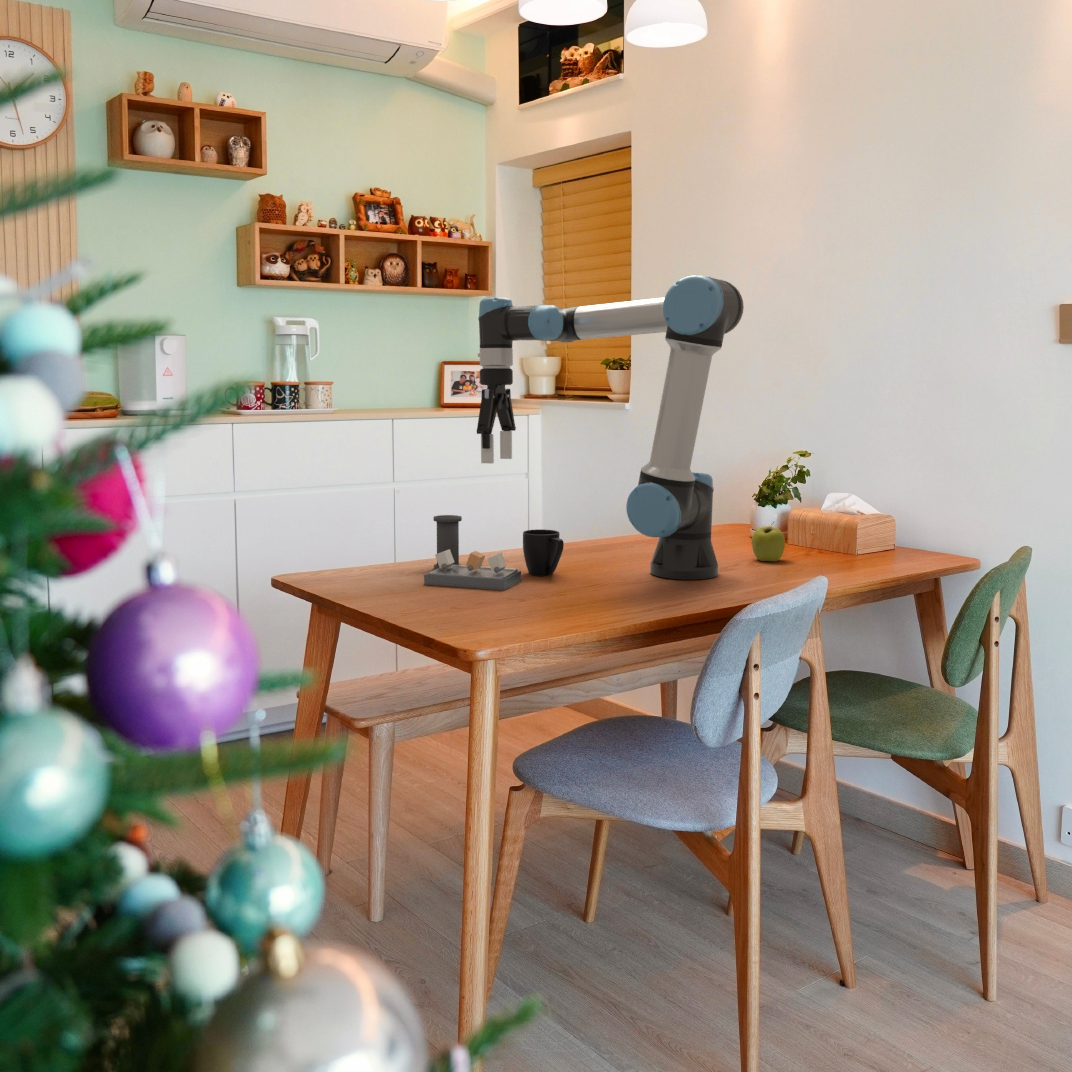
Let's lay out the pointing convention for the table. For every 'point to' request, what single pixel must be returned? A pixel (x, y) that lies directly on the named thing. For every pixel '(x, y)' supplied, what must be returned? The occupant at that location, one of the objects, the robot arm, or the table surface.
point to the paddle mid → (475, 561)
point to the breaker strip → (473, 577)
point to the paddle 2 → (497, 562)
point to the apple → (768, 543)
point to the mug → (542, 551)
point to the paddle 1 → (445, 559)
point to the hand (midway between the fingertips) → (497, 461)
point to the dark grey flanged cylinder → (448, 536)
